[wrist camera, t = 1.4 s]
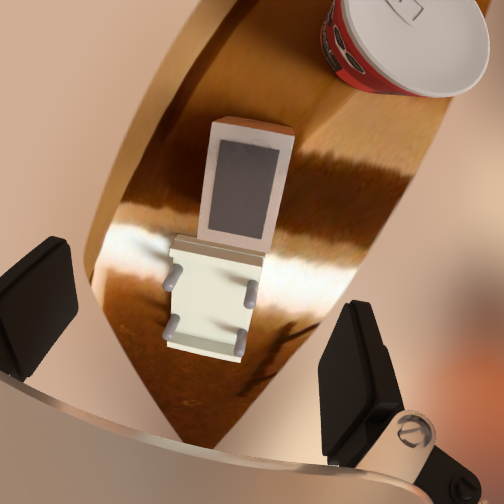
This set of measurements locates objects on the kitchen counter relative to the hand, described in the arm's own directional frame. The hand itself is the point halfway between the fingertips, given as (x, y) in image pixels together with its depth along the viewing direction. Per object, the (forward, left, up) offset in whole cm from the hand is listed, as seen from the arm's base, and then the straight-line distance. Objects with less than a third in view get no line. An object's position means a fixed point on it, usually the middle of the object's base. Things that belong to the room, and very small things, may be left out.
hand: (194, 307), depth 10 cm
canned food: (-12, +7, -18) cm, 23 cm away
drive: (0, 0, -18) cm, 18 cm away
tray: (+13, -1, -17) cm, 22 cm away
